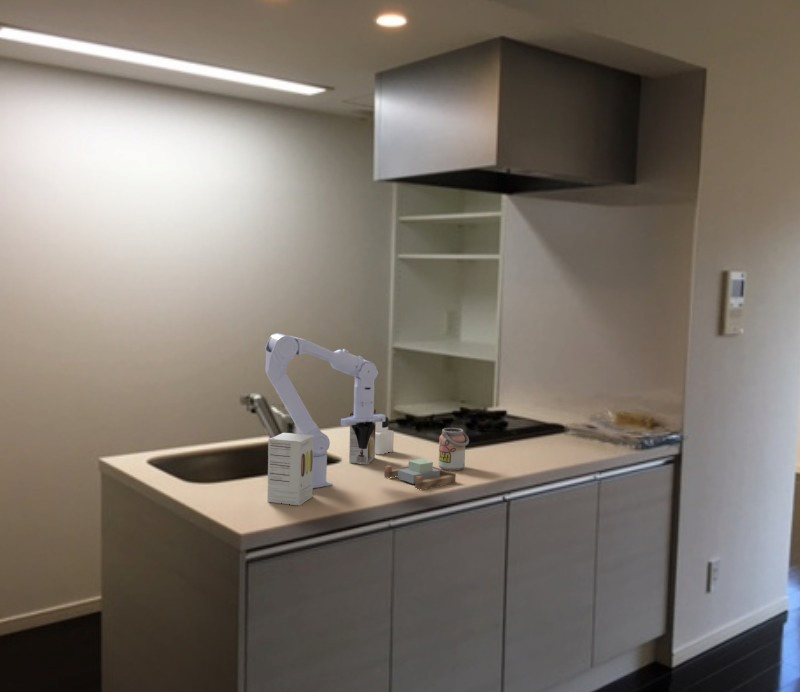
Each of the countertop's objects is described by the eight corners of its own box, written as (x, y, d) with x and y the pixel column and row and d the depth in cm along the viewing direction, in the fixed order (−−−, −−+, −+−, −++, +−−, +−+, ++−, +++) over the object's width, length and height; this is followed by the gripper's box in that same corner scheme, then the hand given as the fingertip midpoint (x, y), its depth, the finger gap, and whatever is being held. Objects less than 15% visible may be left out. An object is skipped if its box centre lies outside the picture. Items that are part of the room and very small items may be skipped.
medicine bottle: (377, 448, 273) (378, 413, 272) (393, 451, 268) (394, 416, 267) (363, 451, 267) (364, 416, 266) (379, 455, 263) (380, 419, 262)
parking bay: (419, 490, 223) (420, 477, 222) (384, 477, 235) (384, 465, 235) (456, 482, 232) (456, 470, 231) (420, 470, 244) (421, 459, 244)
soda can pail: (472, 469, 248) (474, 431, 246) (453, 473, 242) (455, 434, 241) (451, 463, 254) (453, 426, 253) (432, 467, 249) (433, 429, 248)
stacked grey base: (413, 485, 227) (413, 466, 227) (397, 480, 233) (398, 461, 232) (439, 480, 234) (440, 462, 233) (424, 475, 239) (424, 457, 238)
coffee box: (356, 456, 260) (357, 407, 258) (375, 458, 259) (376, 409, 257) (348, 463, 251) (349, 412, 249) (368, 464, 250) (369, 414, 248)
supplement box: (299, 506, 205) (300, 441, 203) (266, 502, 207) (267, 438, 205) (313, 496, 214) (314, 434, 212) (281, 492, 216) (282, 431, 215)
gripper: (351, 406, 221) (350, 454, 223) (392, 401, 230) (391, 448, 232) (336, 402, 227) (335, 449, 228) (377, 398, 236) (376, 443, 237)
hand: (362, 448), depth 230 cm, fingers closed
